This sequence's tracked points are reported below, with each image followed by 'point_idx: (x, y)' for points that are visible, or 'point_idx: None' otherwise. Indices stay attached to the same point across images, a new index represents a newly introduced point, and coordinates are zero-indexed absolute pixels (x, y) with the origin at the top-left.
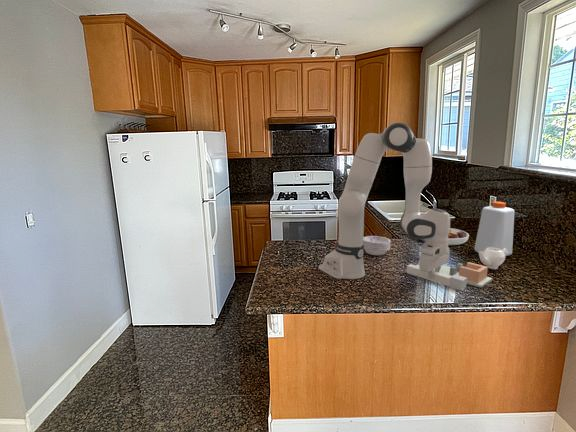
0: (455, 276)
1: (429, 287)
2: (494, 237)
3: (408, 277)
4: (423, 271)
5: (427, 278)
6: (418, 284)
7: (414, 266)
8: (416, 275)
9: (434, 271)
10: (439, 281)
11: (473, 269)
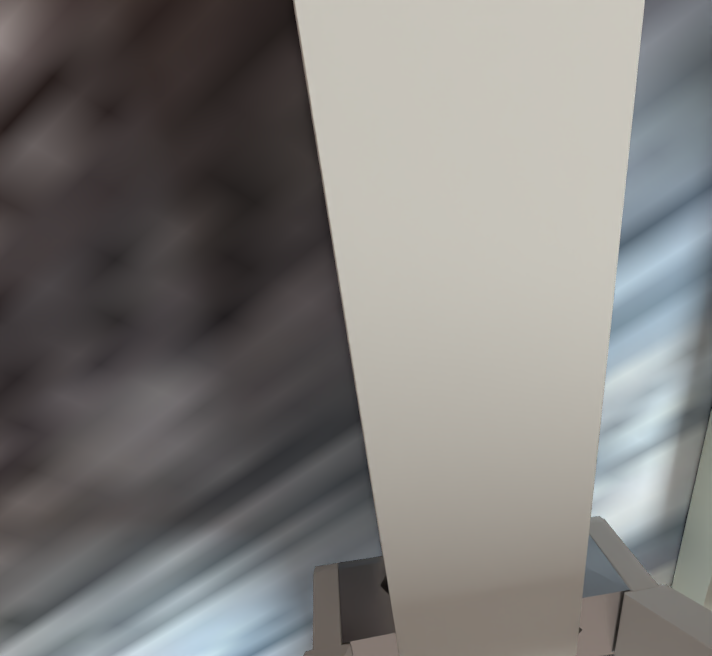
0: None
1: (131, 632)
2: None
3: (85, 185)
4: (371, 479)
5: (368, 468)
6: (38, 514)
7: (475, 44)
8: (331, 239)
9: (545, 635)
10: None
11: None
